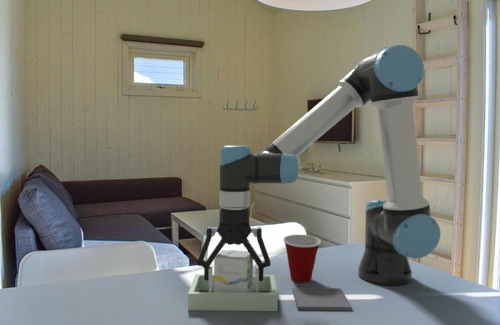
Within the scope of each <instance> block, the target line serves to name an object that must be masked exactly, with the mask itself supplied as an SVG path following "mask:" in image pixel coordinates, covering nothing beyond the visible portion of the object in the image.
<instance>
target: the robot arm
mask: <svg viewBox="0 0 500 325" xmlns="http://www.w3.org/2000/svg"><path fill="white" fill-rule="evenodd" d="M424 75H425V65H424V61H423V59H422V57H421V55H420V53H419V52H417V51H416V50H415V49H414V48H412V47H410V46H408V45H404V44H393V45H390V46H385V47H383V48H382V49H380V50H378V51H376V52H374V53H371V54H369V55H367V56H365V57H364V58H363V59H361V61H359V62H358V64H356V66H354V67H353V68H352V69H351V71H350V72H348V73H347V74H346V75H345V76H344V77H343V78H342V79H341V80H339V81H338V87H337V88H336V89H334V90H333V91H332V92H331V93H330V94H328V95H327V96H326V97H325V98H323V99H322V100H321V101H320V102H319V103H317V104H316V105H315V106H313V108H312V109H310V110H309V111H308V112H307V113H306V114H305V115H303V116H301V118H299V119H298V120H297V121H296V122H295V123H294V124H292V126H290V127H289V128H288V129H287V130H285V131H284V132H282V134H281V135H279V136H278V137H277V138H276V139H275V140H273V141H272V142H271V143H270V144H269V145H268V146H266V147H265V148H264V149H263V150H260V151H258V152H257V153H253V152H252V151H251V147H250V146H249V145H224V146H222V147H221V148H220V154H219V156H220V157H219V206H220V208H219V219H218V220H219V221H218V222H219V224H218V227H212V226H210V225H209V226H208V227H207V229H206V238H205V241H204V242H203V243H204V244H203V246H202V249H201V250H200V251H201V252H200V254H199V255H198V259H197V262H196V265H197V266H199V267H202V268H203V274H204V279H205V280H209V290H208V292H213V290H212V276H213V274H214V266H213V265H211V264H212V263H214V258H215V257H216V256H217V255H218V254H219V253H220V252H221V251H222V250H223V248H224V247H225V245H228V246H229V245H230V246H231V245H237V246H240V245H242V244H243V247H244V248H245V249H246V251H248V252H249V253H250V255H251V256H252V258H253V262H254V263H255V264H256V265H257V266H256V265H255V275H256V286H255V291H254V293H260V291H259V281H263V275H264V269H265V268H267V267H270V266H271V265H272V264H271V262H272V261H271V260H270V257H269V253H268V251H267V248H266V246H265V242H264V240H263V237H262V234H263V232H262V227H261V226H257V227H251V226H250V208H249V206H250V195H251V192H250V191H251V189H250V188H251V184H280V185H285V184H293V183H295V182H296V181H297V180H298V177H299V161H298V156H299V155H300V154H302V153H303V152H304V151H306V150H307V148H309V147H310V146H311V145H313V144H314V143H315V142H316V141H317V140H319V138H321V137H322V136H323V135H325V133H326V132H328V131H330V129H332V128H333V127H334V126H335V125H337V123H338V122H340V121H341V120H342V119H344V118H345V117H346V116H347V115H348V114H350V112H352V111H353V110H354V109H355V108H359V109H360V108H362V107H363V106H365V104H367V103H368V102H371V105H373V106H374V108H376V109H377V111H378V120H379V130H380V136H381V146H382V156H383V164H384V165H383V166H384V174H385V184H386V193H387V199H372V200H368V201H367V203H366V206H365V207H366V208H365V229H364V230H365V234H364V235H365V236H364V237H365V238H364V242H365V244H364V245H365V246H364V251H363V254H362V257H361V260H360V262H359V266H358V268H357V269H358V273H357V274H358V277H359V278H360V279H362V280H363V281H366V282H370V283H373V284H379V285H385V286H401V285H406V284H409V283H411V282H412V280H413V279H412V278H413V275H412V274H413V271H412V269H411V264H410V262H409V261H410V260H409V258H410V259H411V258H412V259H420V258H421V259H422V258H424V257H427V256H428V255H430V254H431V253H432V252H433V251H434V250H435V249H436V248H437V246H438V245H439V243H440V240H441V228H440V225H439V223H438V222H437V220H436V219H435V218H433V217H432V216H431V215H432V214H431V208H430V201H428V200H426V198H425V197H423V191H422V181H421V173H420V162H419V153H418V152H419V151H418V142H417V134H416V131H417V130H416V126H415V125H416V123H415V114H414V103H415V102H416V101H417V100H418V98H419V89H418V86H419V85H420V83H421V81H422V80H423V78H424ZM251 233H252V234H253V236H254V237H255V238H256V240H257V243H258V246H259V249H260V251H261V255H262V257H263V261H262V259H261V258H260V256H259V254H258V253H257V251H256V250H255V249H254V247H253V246H252V244H251V243H250V240H249V239H248V237H249V236H250V235H251ZM216 234H218V235H219V236H220V238H221V239H220V240H219V242H218V243H217V245H216V246H215V248H214V249H213V250H212V252H211V254H210V255H209V256H208V258H207V259H206V260H204V259H205V257H206V254H207V251H208V249H209V246H210V243H211V241H212V238H213V237H214V236H215V235H216Z"/></svg>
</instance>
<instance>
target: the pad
mask: <svg viewBox="0 0 500 325" xmlns="http://www.w3.org/2000/svg"><path fill="white" fill-rule="evenodd" d="M291 290H292V291H291V292H292V295H293V298H294V302H295V304H296V305H295V306H296V309H297V311H301V310H302V311H353V306H352V304H351V303H350V301H349V300H348V298H347V297H346V295H345V293H344V291H343V290H342V288H340V287H339V288H337V287H336V288H334V287H333V288H331V287H330V288H329V287H327V288H325V287H324V288H323V287H292V289H291Z"/></svg>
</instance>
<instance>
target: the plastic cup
mask: <svg viewBox="0 0 500 325" xmlns="http://www.w3.org/2000/svg"><path fill="white" fill-rule="evenodd" d="M283 242H284V246H285V250H286V255H287V256H286V257H287V262H288V268H289V274H290V275H289V276H290V278H291V280H292V281H293V282H296V283H308V282H311V280H312V279H313V278H312V277H313V272H314V269H315V263H316V258H317V252H318V249H319V246H320V245H321V243H322V241H321V238H319V237H315V236H313V235H307V234H289V235H287V236H285V237H283Z"/></svg>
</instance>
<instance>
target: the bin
mask: <svg viewBox="0 0 500 325" xmlns="http://www.w3.org/2000/svg"><path fill="white" fill-rule="evenodd" d="M255 286H256V274H253V293H251V292H214V273H213V276H212V292H209V280H205V279H204V273H203V274H202V273H201V274H200V273H198V274H197V273H195V275H194V278H193V280H192V282H191V285H190V287H189V290H188V293H187V311H220V312H221V311H223V312H224V311H227V312H228V311H229V312H231V311H232V312H233V311H235V312H236V311H237V312H238V311H239V312H243V311H244V312H245V311H246V312H278V300H279V298H278V297H279V296H278V290H277V289H278V288H277V283H276V278H275V274H263V281H259V293H255Z"/></svg>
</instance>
